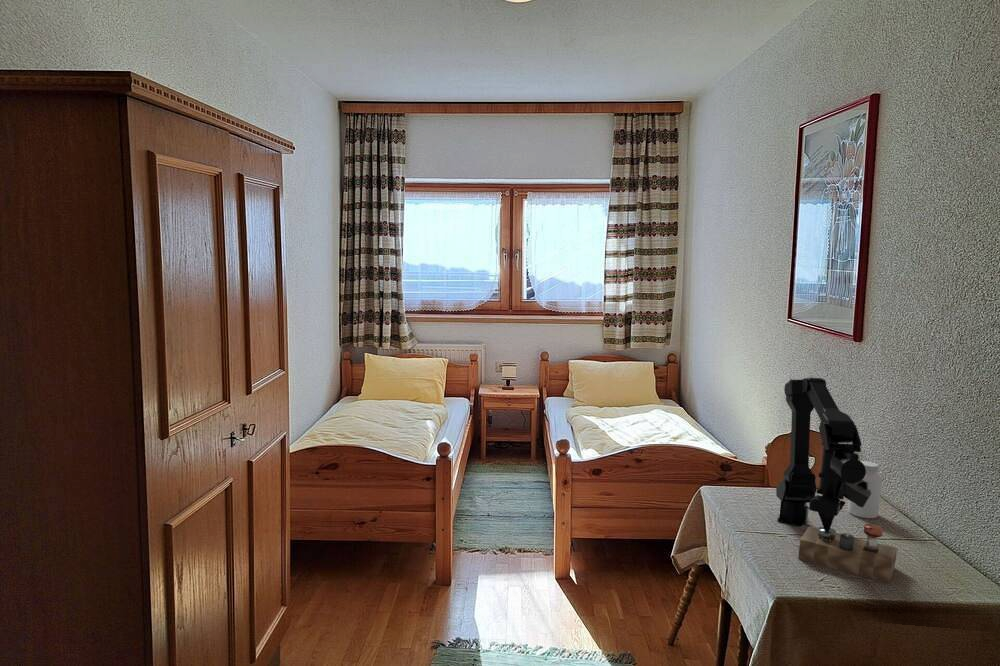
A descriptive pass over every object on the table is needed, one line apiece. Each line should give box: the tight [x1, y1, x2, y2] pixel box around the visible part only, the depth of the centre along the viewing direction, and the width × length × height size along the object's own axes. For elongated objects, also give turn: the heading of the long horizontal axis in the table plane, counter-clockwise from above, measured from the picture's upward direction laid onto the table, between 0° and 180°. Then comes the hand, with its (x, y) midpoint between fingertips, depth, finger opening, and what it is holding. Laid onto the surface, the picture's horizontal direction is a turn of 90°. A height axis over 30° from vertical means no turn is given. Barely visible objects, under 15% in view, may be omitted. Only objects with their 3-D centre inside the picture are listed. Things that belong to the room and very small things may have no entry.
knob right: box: [863, 523, 884, 553], centre depth 175 cm, size 4×4×7 cm
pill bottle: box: [847, 460, 883, 519], centre depth 210 cm, size 8×8×15 cm
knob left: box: [817, 526, 837, 542], centre depth 182 cm, size 4×4×7 cm
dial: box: [839, 532, 855, 551], centre depth 176 cm, size 3×3×3 cm
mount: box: [797, 526, 898, 584], centre depth 179 cm, size 20×10×5 cm, turn 56°
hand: (827, 530), depth 181 cm, fingers closed, pressing on knob left
